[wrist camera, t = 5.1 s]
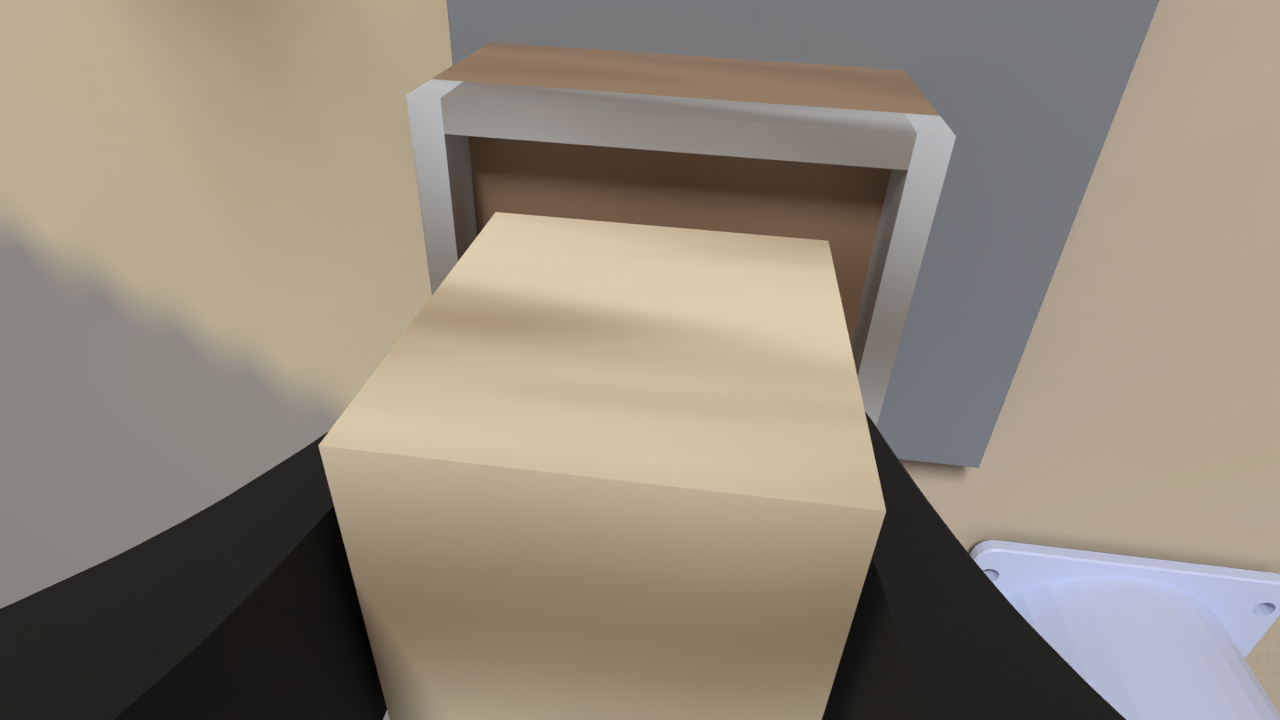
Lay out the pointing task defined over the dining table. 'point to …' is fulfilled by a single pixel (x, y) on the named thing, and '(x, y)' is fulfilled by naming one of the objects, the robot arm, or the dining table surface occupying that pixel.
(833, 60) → the board
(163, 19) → the dining table surface
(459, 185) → the walnut plinth
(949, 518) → the dining table surface
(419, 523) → the maple block
